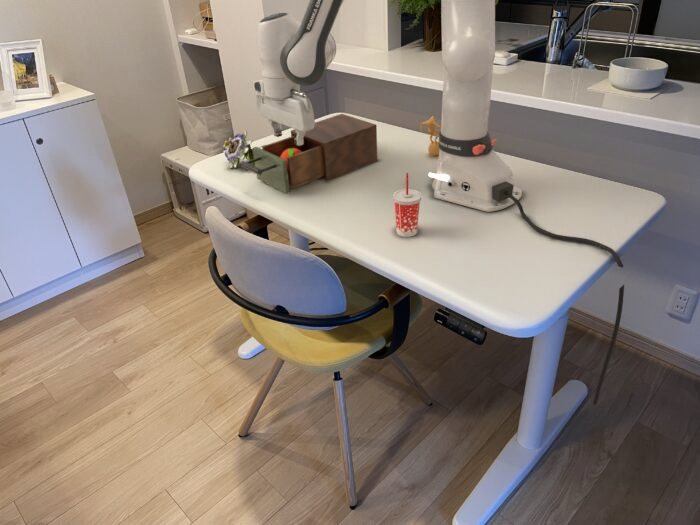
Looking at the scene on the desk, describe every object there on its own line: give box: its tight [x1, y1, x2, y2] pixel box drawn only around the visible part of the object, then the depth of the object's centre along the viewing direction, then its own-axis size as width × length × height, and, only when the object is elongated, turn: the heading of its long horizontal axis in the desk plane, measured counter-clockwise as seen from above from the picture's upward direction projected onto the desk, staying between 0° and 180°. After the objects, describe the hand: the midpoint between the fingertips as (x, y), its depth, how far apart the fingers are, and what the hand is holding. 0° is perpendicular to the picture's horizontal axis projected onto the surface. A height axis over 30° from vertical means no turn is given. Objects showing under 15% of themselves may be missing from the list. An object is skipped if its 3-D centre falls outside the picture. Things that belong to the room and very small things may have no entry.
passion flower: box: [222, 129, 266, 169], centre depth 156 cm, size 11×11×12 cm
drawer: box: [240, 135, 325, 194], centre depth 144 cm, size 23×13×9 cm, turn 131°
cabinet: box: [290, 113, 378, 182], centre depth 153 cm, size 19×15×11 cm
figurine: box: [419, 115, 441, 157], centre depth 153 cm, size 8×6×12 cm
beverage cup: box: [392, 172, 422, 238], centre depth 118 cm, size 6×6×14 cm
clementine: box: [280, 148, 301, 174], centre depth 144 cm, size 8×7×7 cm
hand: (288, 140), depth 141 cm, fingers open, 8 cm apart
